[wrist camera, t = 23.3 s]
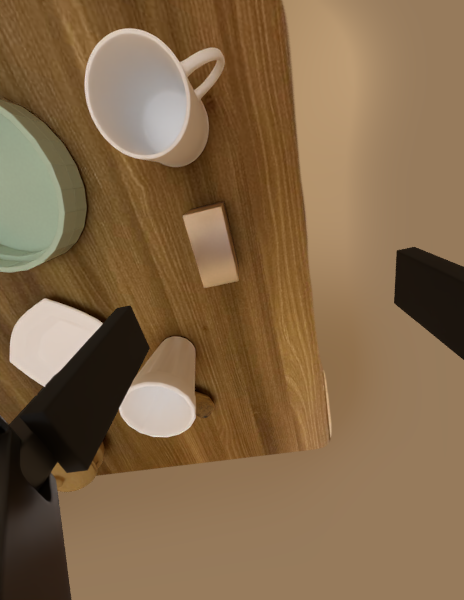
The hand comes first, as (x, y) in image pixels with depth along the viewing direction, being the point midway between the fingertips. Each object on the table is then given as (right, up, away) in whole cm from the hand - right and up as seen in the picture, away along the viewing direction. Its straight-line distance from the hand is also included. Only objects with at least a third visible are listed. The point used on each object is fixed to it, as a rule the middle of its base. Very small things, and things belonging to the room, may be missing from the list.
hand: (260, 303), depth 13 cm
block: (-4, +9, +23) cm, 25 cm away
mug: (-7, +21, +17) cm, 29 cm away
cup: (-11, -8, +32) cm, 35 cm away
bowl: (-30, +15, +21) cm, 40 cm away
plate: (-29, -9, +32) cm, 44 cm away
